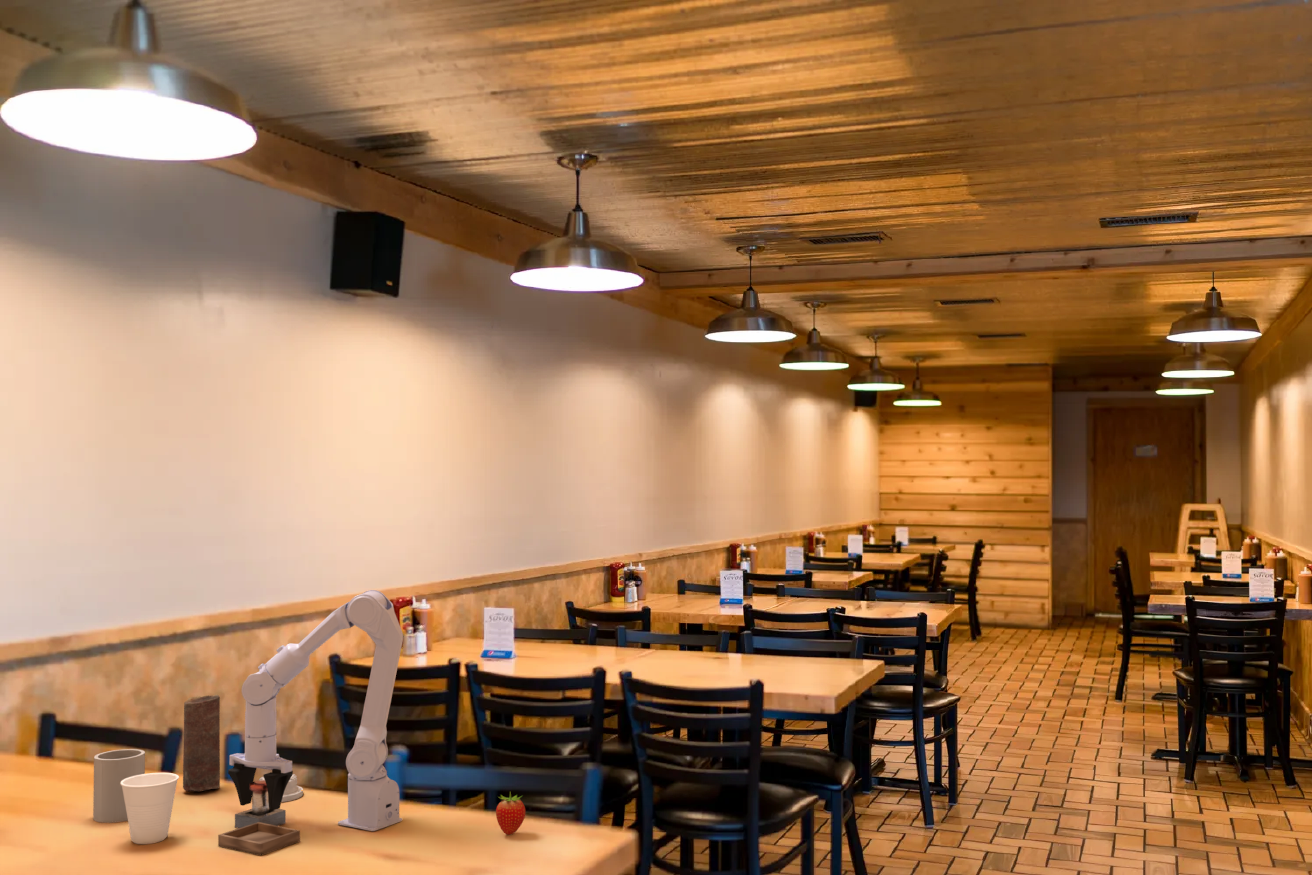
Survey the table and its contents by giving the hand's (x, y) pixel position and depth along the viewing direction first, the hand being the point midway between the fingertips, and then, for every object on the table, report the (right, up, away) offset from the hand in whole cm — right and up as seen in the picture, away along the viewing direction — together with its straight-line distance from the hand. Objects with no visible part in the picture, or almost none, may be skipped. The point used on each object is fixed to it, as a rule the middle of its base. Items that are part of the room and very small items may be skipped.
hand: (260, 806), depth 219 cm
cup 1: (-30, -4, +7) cm, 32 cm away
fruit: (+49, -3, -8) cm, 50 cm away
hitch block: (0, -4, 0) cm, 4 cm away
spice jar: (0, -4, 0) cm, 4 cm away
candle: (-21, -5, +25) cm, 33 cm away
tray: (+4, -3, -12) cm, 13 cm away
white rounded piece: (-3, -5, +20) cm, 21 cm away
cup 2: (-18, -4, -8) cm, 20 cm away
